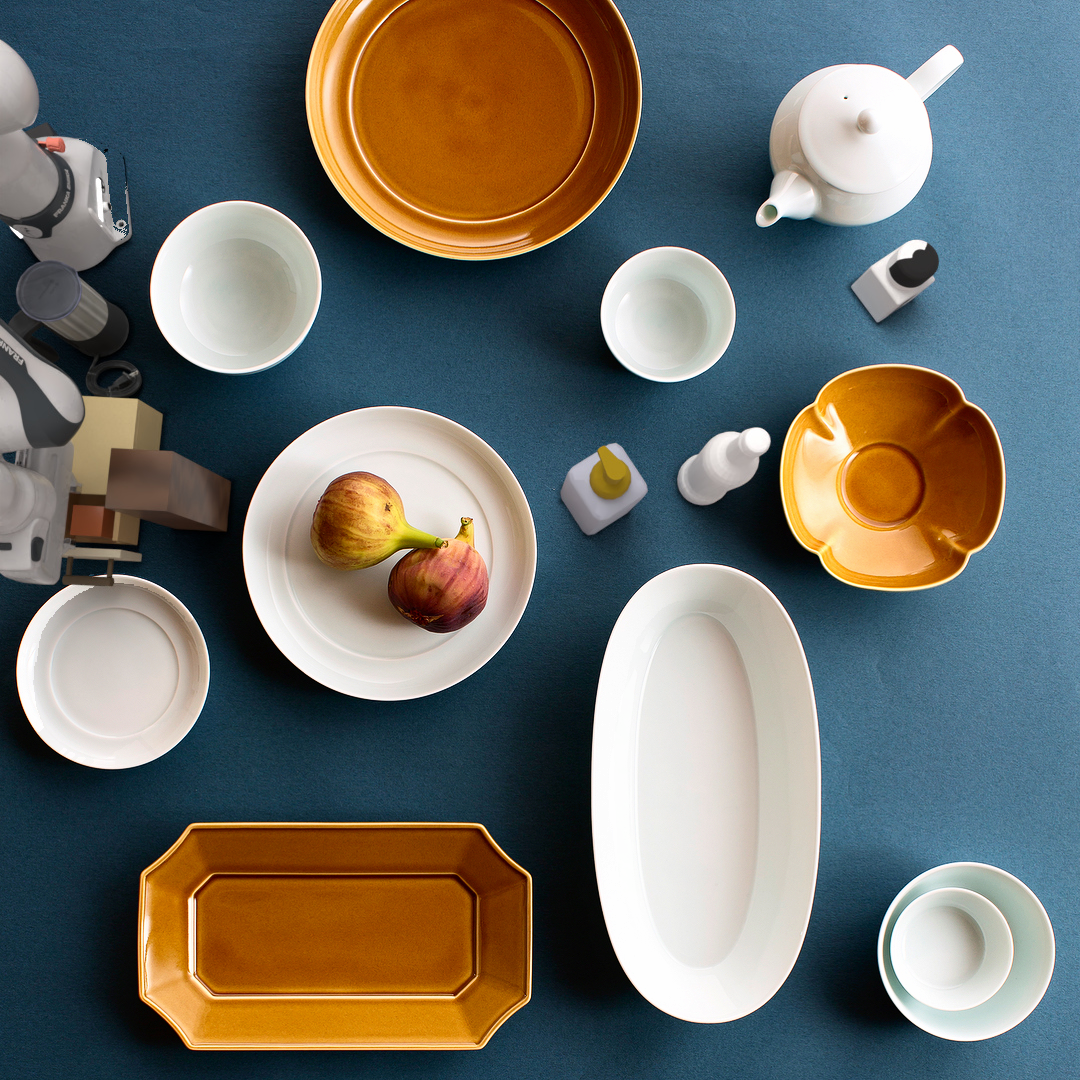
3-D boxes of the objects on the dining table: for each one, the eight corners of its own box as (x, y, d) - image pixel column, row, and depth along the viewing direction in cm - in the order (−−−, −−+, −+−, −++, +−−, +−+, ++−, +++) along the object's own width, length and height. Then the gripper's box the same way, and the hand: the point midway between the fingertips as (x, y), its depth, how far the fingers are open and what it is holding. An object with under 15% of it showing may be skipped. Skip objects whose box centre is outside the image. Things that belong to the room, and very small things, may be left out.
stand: (180, 478, 125) (110, 447, 103) (231, 481, 125) (173, 451, 104) (175, 529, 124) (104, 508, 102) (226, 531, 124) (167, 511, 103)
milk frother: (93, 291, 128) (38, 247, 113) (176, 339, 127) (133, 302, 113) (43, 364, 126) (-19, 330, 111) (127, 413, 126) (77, 385, 111)
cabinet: (153, 504, 124) (127, 495, 116) (72, 500, 124) (40, 491, 115) (163, 414, 126) (138, 398, 118) (82, 409, 126) (51, 393, 117)
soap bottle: (602, 463, 128) (625, 423, 103) (633, 509, 127) (663, 480, 103) (556, 492, 127) (568, 459, 102) (586, 539, 127) (606, 517, 102)
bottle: (693, 448, 129) (749, 394, 99) (734, 476, 129) (802, 431, 99) (665, 487, 128) (713, 445, 98) (706, 516, 128) (767, 483, 98)
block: (90, 509, 122) (73, 504, 117) (120, 511, 122) (104, 506, 117) (87, 538, 122) (69, 534, 117) (117, 540, 122) (100, 536, 117)
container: (912, 299, 133) (955, 264, 120) (876, 323, 133) (916, 291, 120) (885, 262, 134) (925, 224, 121) (849, 287, 133) (885, 250, 120)
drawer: (138, 588, 122) (116, 586, 115) (63, 585, 122) (37, 582, 115) (150, 476, 124) (129, 467, 117) (76, 472, 124) (51, 463, 117)
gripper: (-2, 419, 101) (59, 444, 114) (-22, 579, 98) (43, 585, 112) (49, 422, 101) (104, 446, 115) (30, 582, 99) (88, 587, 112)
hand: (73, 516), depth 113 cm, fingers open, 7 cm apart
